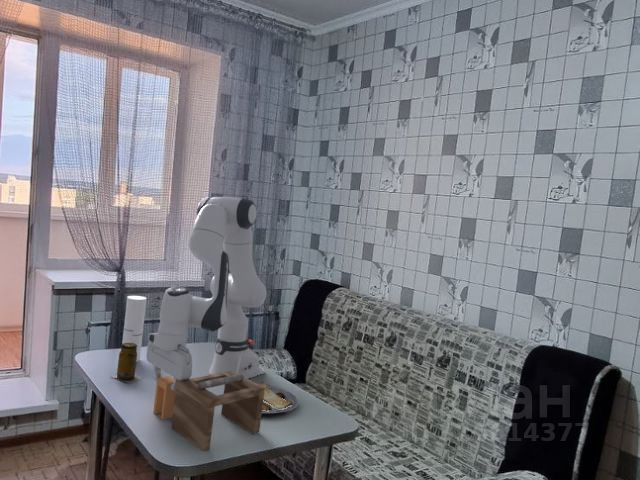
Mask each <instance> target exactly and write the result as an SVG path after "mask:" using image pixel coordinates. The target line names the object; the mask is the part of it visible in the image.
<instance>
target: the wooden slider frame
mask: <svg viewBox="0 0 640 480" xmlns="http://www.w3.org/2000/svg"><path fill="white" fill-rule="evenodd" d="M222 385H224V387H223V394H218V395H217V394H216V393H213V392H212V391H209V388H213V387H214V388H215V387H219V386H222ZM264 391H265V387H263V386H261V385H259V383H256V382H254V381H253V380H251V379H247V378H245V377H244V376H243V374H237V373H235V372H233V371H228V372H223V373H218V374H213V375H211V374H209V375H203V376H198V377H193V378H190V379H188V380H182V381H177V383H176V392H175V400H174V409H173V417H171V418H172V419H171V427H170V428H171V429H172V430H173V431H174V432H176V433H177V434H178V435H180V436H181V437H183V438H184V439H186V440H187V441H189V443H191V444H193V445H194V446H195V447H197V448H198V449H200V450H201V451H202V452H205V451H209V450H210V449H211V441H212V434H213V433H212V432H213V423H214V416H215V409H216V408H215V407H218V406H221V413H220V415H221V416H222V415H223V417H224V416H225V417H224V418H226V419H227V418H228V419H227V420H229V419H230V422H232V421H233V422H232V423H234V422H235V423H234V424H235V425H237V424H238V426H239V425H240V426H239V427H241V428H242V427H243V429H244V428H245V429H244V430H245V431H247V430H248V431H247V432H249V431H250V432H249V433H251V432H252V433H253V434H252V433H251V434H252V435H256V434H255V433H257V434H259V433H260V428H261V421H262V414H263V413H262V412H263V411H262V406H263V398H264ZM258 432H259V433H258Z"/></svg>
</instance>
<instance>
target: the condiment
mask: <svg viewBox="0 0 640 480" xmlns="http://www.w3.org/2000/svg"><path fill="white" fill-rule="evenodd" d="M136 351H137V345H136V344H134V343H123V344H121V347H120V351H119V353H118V363H117V369H116V370H117V372H116V375H111V376H110V378H113V379H115V378H116V376H117V378H118V379H117V380H119V381H121V382H125V383H126V384H128V383H132V382H133V383H134V382H137V381H139V380H143V377H141V376H139V375H136V367H137V362H136V360H137V352H136ZM114 377H115V378H114Z"/></svg>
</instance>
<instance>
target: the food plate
mask: <svg viewBox="0 0 640 480" xmlns="http://www.w3.org/2000/svg"><path fill="white" fill-rule="evenodd" d="M258 384H259V385H261V386H263V387H265V391H264V398H263V400H264V401H266V402H268V403H269V404H271V405H273V406H274V407H276V408H278V409H282V408H286V407H288V406H290V405H292V406H291V407H288V408H287V409H284V410H279V411H278V410H273V408H272V407H271V406H270V405H268V404H266V403H264V402H263V406H262V410H266V411H267V410H272V411H269V412H265V411H264V412H263V411H262V414H280V413H285V412H290V411H293V410H294V409H296V408H297V407H298V405H299V401H298V398H297V397H296V396H295V395H294V394H292V393H291V392H289V391H287V389H286V390H285V389H283V388H282V387H278V386H273V385H270V384H266V383H265V381H261V382H260V383H258ZM282 398H283V399H285V400H286V401H285V400H283V399H282ZM278 401H279V402H278ZM281 402H282V404H281Z"/></svg>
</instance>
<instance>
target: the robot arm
mask: <svg viewBox="0 0 640 480" xmlns="http://www.w3.org/2000/svg"><path fill="white" fill-rule="evenodd" d="M196 215H197V217H196V218H195V220H194V224H193V226H192V229H191V233H190V235H189V241H188V242H189V243H188V247H189V250H190V252H191V253H192V255H193V257H195V258H196V259H197V260H198V261H200V262H201V263H204V264H205V265H207V266H208V267H210V268H211V269H212V270H213V273H214V276H213V277H212V278H211V280H210V283H209V284H210V285H209V290H210V293H211V294H212V297H211V298H210V297H209V298H207V297H201V296H196V295H192V293H191V290H190V289H189V288H188V287H185V286H171V287H169V288H167V289H166V290H165V292H164V295H163V297H162V301H161V305H160V310H159V325H158V327H157V332H153V333H148V335H147V340H148V342H147V347H146V361H147V363H149V364H151V365H153V366H152V368H153V372H154V376H153V377H154V378H153V379H154V380H155V381H156V382H157V378H161V377H163V374H162V371H163V372H164V373H167V374H168V375H169V376H170V377H172V378H173V379H174V380H175V381H174V383H173V384H171V390H173V391H176V383H177V381H182V380H188V379H191V377H192V372H193V357H192V354H191V353H190V352H191V351H190V349H189V348H187V341H188V334H189V333H188V332H189V329H188V327H193V328H196V329H202V330H203V331H204V330H205V331H208V332H212V333H214V332H216V331H217V336H216V339H215V345H214V347H215V348H214V349H215V351H214V356H213V359H212V363H211V366H210V369H208V373H209V375H213V374H218V373H223V372H228V371H233V372H235V373H237V374H243V376H244V377H245V378H247V379H249V378H250V379H252V378H255V377H257V375H258V376H261V375H264V374H265V370H264V368H263V367H261V366H260V358H259V356H258V355H257V354H256V353H255V352H254V351H253V350H251V348H249V345H250V346H253V345H254V343H255V341H254V340H252V339H251V338H250V339H248V338H247V335H248V326H249V320H248V317H247V315H245V313H244V311H243V307H245V308H260V307H261V306H262V305H263V303H264V302H265V300H266V298H267V288H266V286H265V284H264V283H263V282H262V281H261V279H260V278H259V276H258V274H257V271H256V268H255V265H254V259H253V258H254V257H253V233H252V226H253V225H254V224H255V223H256V221H257V217H258V216H257V215H258V209H257V205H256V204H255V202H254V201H253V200H250V199H249V198H241V197H240V198H239V197H235V196H217V197H216V196H215V197H214V196H207V197H203V198H202V199H201V200H200V201H199V202H198V204H197V207H196ZM260 374H261V375H260ZM250 379H249V380H250Z"/></svg>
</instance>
